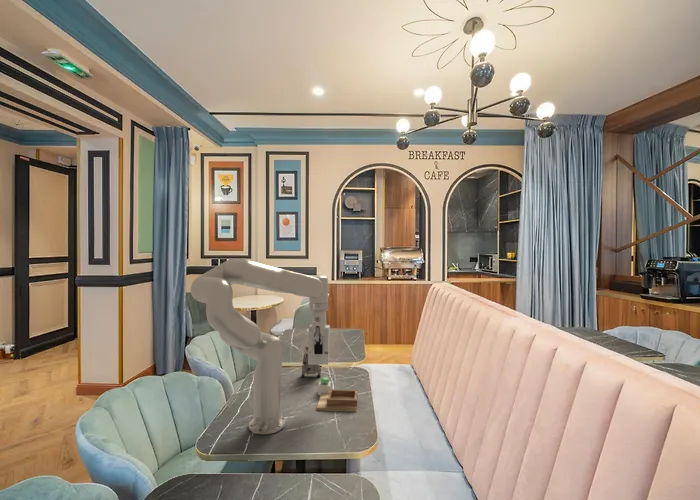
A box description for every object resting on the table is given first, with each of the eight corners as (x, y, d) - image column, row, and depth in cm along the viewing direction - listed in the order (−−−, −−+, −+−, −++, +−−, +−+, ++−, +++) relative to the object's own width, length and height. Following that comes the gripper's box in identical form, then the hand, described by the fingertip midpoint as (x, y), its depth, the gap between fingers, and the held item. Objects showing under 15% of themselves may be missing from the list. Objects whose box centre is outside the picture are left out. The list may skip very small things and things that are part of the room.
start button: (328, 392, 148) (328, 380, 148) (319, 392, 148) (319, 380, 148) (329, 389, 152) (329, 377, 152) (321, 389, 152) (321, 377, 152)
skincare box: (307, 365, 137) (307, 327, 137) (309, 359, 143) (309, 323, 143) (329, 365, 137) (328, 327, 137) (330, 359, 143) (330, 323, 143)
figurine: (301, 382, 161) (301, 350, 161) (302, 373, 172) (302, 343, 172) (320, 382, 162) (321, 350, 161) (320, 373, 173) (321, 343, 173)
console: (329, 395, 147) (329, 386, 147) (318, 395, 148) (318, 385, 148) (331, 390, 152) (331, 381, 152) (319, 390, 153) (319, 381, 152)
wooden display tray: (356, 411, 133) (356, 402, 133) (316, 410, 134) (316, 401, 134) (357, 396, 146) (357, 388, 146) (321, 395, 147) (321, 387, 147)
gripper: (326, 310, 131) (327, 358, 131) (329, 302, 148) (330, 344, 149) (306, 311, 131) (307, 358, 132) (311, 302, 148) (312, 344, 149)
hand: (319, 350), depth 140 cm, fingers closed on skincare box, 5 cm apart
